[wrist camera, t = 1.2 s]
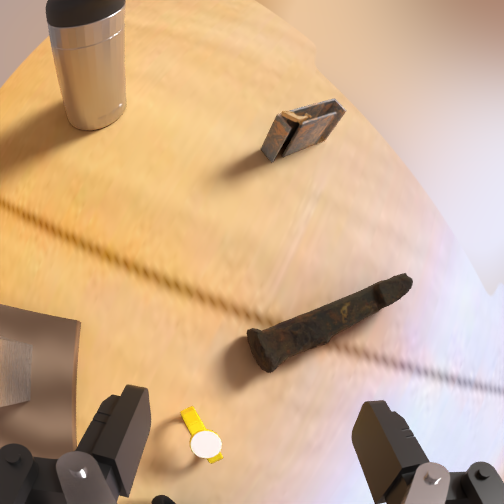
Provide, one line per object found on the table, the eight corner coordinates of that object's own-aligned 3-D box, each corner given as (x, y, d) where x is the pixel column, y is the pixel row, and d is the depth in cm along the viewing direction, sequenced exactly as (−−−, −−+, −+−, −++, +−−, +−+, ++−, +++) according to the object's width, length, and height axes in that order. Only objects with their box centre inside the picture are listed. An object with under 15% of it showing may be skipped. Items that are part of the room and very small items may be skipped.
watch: (173, 410, 28) (173, 421, 22) (196, 399, 29) (202, 408, 23) (200, 456, 27) (208, 475, 21) (223, 445, 28) (235, 462, 22)
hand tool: (255, 373, 32) (272, 376, 26) (241, 332, 33) (255, 327, 28) (401, 307, 39) (428, 299, 34) (390, 276, 41) (416, 264, 35)
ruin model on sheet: (272, 166, 42) (298, 120, 33) (259, 150, 42) (282, 103, 33) (325, 143, 46) (355, 103, 37) (314, 130, 46) (340, 89, 38)
